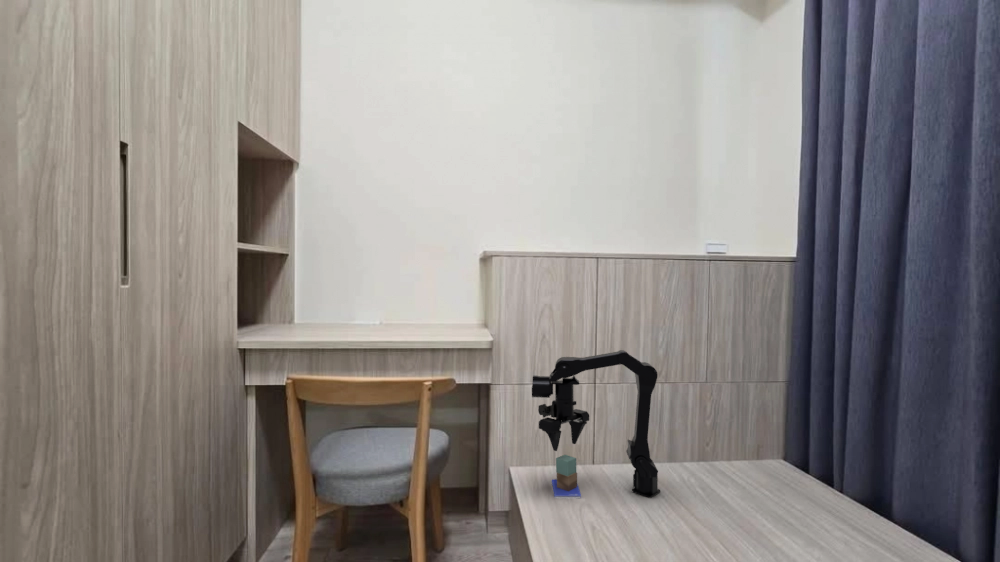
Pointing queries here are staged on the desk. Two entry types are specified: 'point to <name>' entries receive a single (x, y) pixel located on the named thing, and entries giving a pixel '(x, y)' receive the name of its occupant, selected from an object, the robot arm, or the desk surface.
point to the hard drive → (563, 493)
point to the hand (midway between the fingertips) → (564, 447)
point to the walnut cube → (567, 481)
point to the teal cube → (566, 465)
